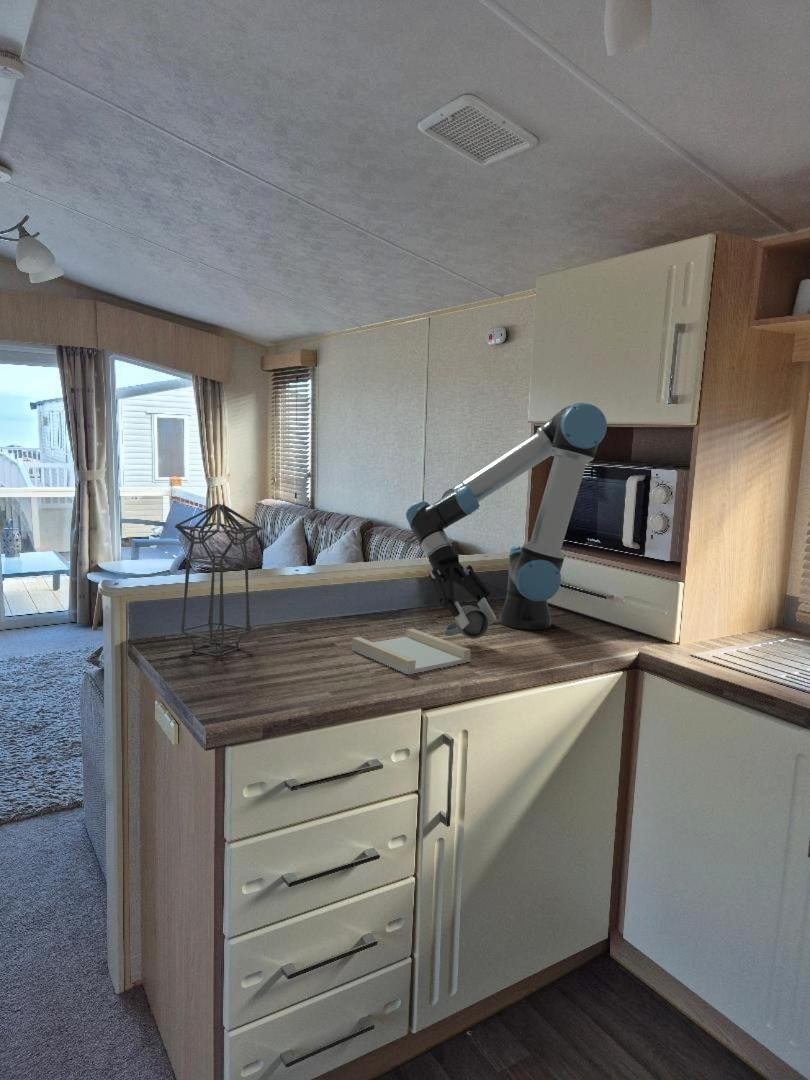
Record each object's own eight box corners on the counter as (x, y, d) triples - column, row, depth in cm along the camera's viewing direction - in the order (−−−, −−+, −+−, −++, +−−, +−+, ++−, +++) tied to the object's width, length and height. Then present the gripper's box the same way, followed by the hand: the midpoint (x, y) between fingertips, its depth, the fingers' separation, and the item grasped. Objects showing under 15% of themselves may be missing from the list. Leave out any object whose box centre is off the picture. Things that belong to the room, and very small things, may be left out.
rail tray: (411, 640, 189) (412, 628, 188) (469, 662, 172) (470, 649, 171) (352, 650, 177) (352, 637, 176) (407, 675, 160) (408, 661, 159)
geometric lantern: (167, 651, 169) (169, 502, 165) (214, 638, 183) (217, 501, 179) (219, 663, 162) (222, 507, 158) (263, 648, 175) (267, 505, 172)
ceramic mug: (479, 630, 191) (480, 601, 190) (489, 638, 183) (490, 609, 182) (440, 631, 188) (441, 603, 187) (448, 640, 181) (449, 610, 180)
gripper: (462, 558, 201) (501, 626, 191) (402, 564, 188) (440, 637, 178) (476, 541, 197) (517, 610, 186) (415, 546, 183) (455, 621, 173)
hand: (479, 623), depth 182 cm, fingers closed on ceramic mug, 9 cm apart
